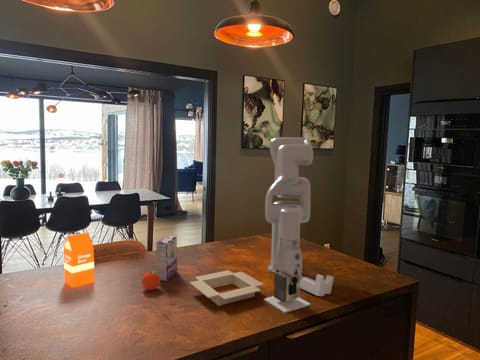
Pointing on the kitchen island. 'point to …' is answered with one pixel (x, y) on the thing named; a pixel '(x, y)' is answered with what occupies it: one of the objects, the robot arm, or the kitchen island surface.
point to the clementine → (151, 280)
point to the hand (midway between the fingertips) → (287, 290)
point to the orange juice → (79, 260)
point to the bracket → (317, 285)
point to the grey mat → (287, 304)
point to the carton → (225, 278)
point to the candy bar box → (166, 257)
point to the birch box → (284, 287)
